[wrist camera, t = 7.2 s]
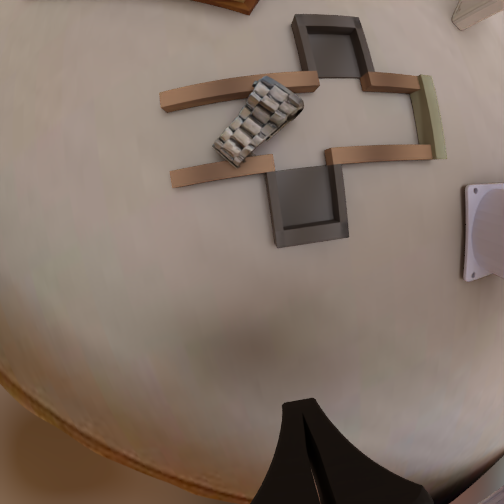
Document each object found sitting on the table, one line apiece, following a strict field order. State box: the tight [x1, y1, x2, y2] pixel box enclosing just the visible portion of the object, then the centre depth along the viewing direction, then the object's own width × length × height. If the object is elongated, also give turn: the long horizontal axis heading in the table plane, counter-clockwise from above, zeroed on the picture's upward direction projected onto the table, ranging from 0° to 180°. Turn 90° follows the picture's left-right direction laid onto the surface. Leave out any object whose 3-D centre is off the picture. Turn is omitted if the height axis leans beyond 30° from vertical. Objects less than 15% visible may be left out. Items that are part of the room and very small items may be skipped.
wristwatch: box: [212, 76, 304, 168], centre depth 15 cm, size 3×5×5 cm, turn 134°
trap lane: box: [159, 14, 447, 248], centre depth 16 cm, size 18×15×2 cm
